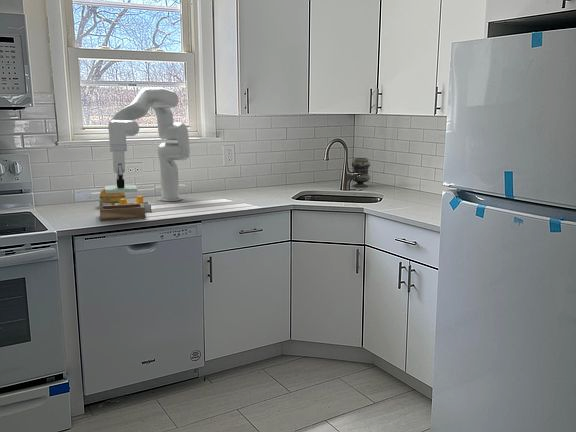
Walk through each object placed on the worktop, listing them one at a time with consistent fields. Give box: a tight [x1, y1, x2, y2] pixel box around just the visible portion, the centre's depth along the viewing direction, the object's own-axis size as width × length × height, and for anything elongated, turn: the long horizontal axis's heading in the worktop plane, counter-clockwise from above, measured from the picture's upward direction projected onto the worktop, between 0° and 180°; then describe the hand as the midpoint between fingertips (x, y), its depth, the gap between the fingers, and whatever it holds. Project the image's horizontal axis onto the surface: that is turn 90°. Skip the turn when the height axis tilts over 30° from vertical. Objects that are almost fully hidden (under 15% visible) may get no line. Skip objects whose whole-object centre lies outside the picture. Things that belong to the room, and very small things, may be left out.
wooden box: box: [99, 199, 146, 222], centre depth 268 cm, size 12×20×8 cm, turn 109°
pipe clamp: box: [120, 195, 144, 205], centre depth 283 cm, size 12×4×6 cm, turn 141°
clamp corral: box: [115, 201, 152, 213], centre depth 283 cm, size 9×17×4 cm, turn 109°
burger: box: [99, 188, 127, 205], centre depth 294 cm, size 13×14×10 cm
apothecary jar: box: [351, 157, 371, 188], centre depth 359 cm, size 12×12×18 cm
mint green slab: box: [104, 178, 138, 193], centre depth 265 cm, size 12×14×6 cm
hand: (120, 187), depth 266 cm, fingers closed on mint green slab, 3 cm apart
